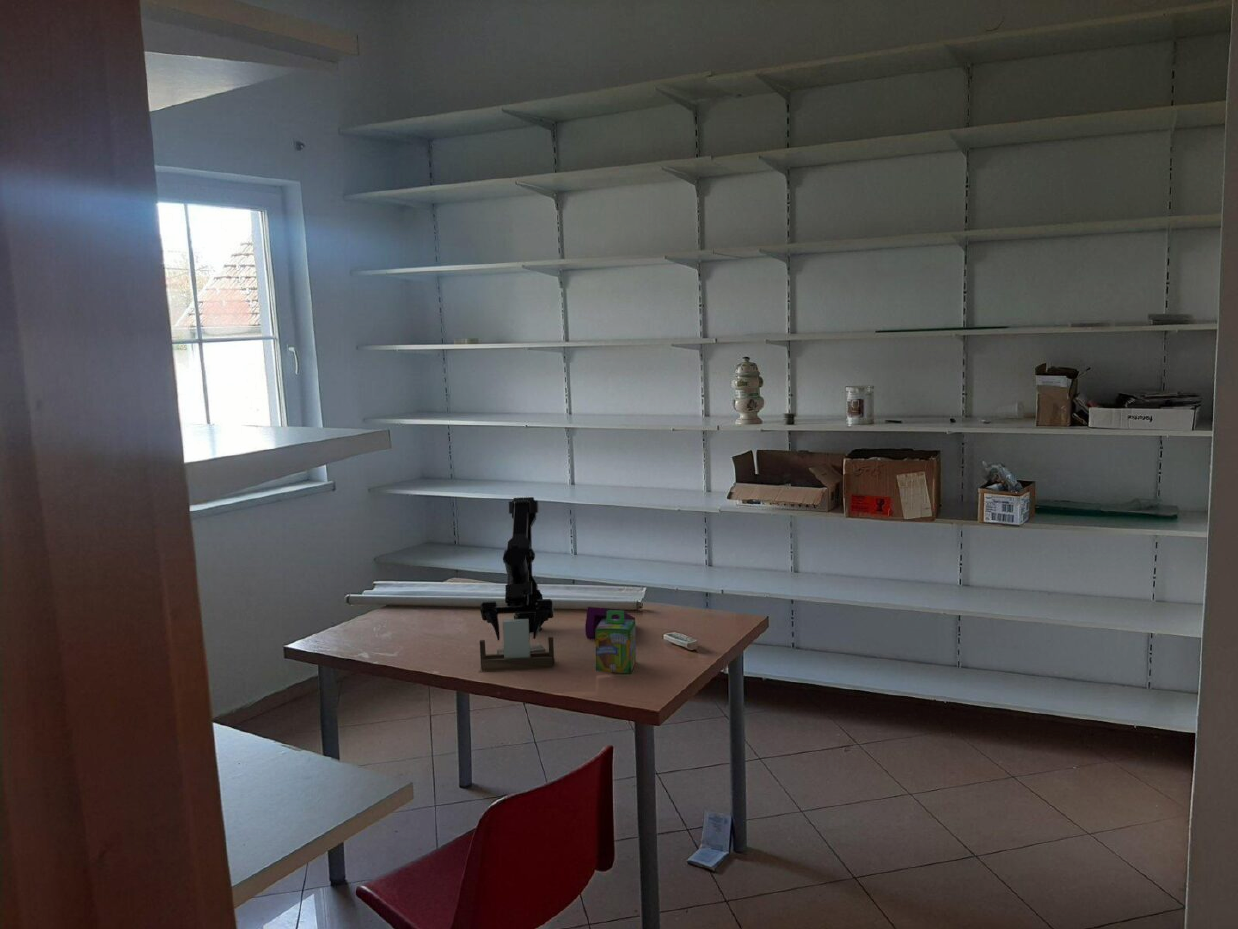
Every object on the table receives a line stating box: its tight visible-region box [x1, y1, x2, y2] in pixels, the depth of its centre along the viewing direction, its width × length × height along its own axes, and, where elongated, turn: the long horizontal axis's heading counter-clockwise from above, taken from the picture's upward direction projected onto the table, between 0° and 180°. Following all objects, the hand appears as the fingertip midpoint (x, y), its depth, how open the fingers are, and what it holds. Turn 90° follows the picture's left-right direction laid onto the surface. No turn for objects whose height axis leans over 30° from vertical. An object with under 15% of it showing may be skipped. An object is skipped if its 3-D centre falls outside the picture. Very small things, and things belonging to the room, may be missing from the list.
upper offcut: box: [496, 642, 546, 654], centre depth 246 cm, size 5×12×2 cm, turn 110°
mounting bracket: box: [584, 606, 636, 640], centre depth 264 cm, size 9×8×18 cm
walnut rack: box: [478, 636, 556, 673], centre depth 237 cm, size 8×19×8 cm, turn 91°
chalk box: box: [594, 609, 637, 675], centre depth 235 cm, size 9×9×15 cm
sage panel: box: [502, 618, 531, 658], centre depth 237 cm, size 2×6×12 cm, turn 91°
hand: (516, 639), depth 236 cm, fingers open, 9 cm apart
